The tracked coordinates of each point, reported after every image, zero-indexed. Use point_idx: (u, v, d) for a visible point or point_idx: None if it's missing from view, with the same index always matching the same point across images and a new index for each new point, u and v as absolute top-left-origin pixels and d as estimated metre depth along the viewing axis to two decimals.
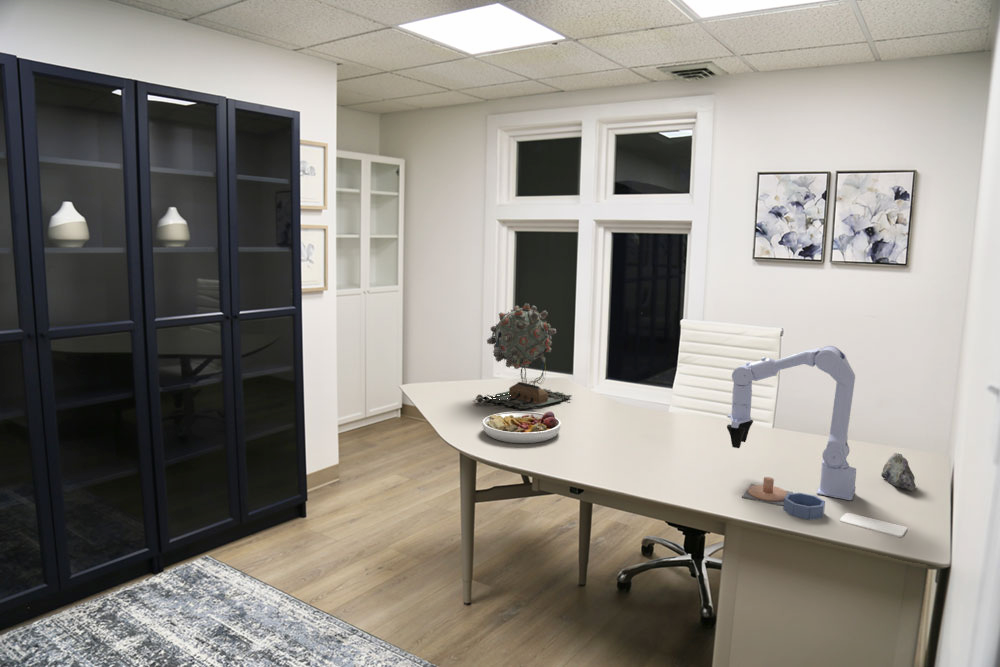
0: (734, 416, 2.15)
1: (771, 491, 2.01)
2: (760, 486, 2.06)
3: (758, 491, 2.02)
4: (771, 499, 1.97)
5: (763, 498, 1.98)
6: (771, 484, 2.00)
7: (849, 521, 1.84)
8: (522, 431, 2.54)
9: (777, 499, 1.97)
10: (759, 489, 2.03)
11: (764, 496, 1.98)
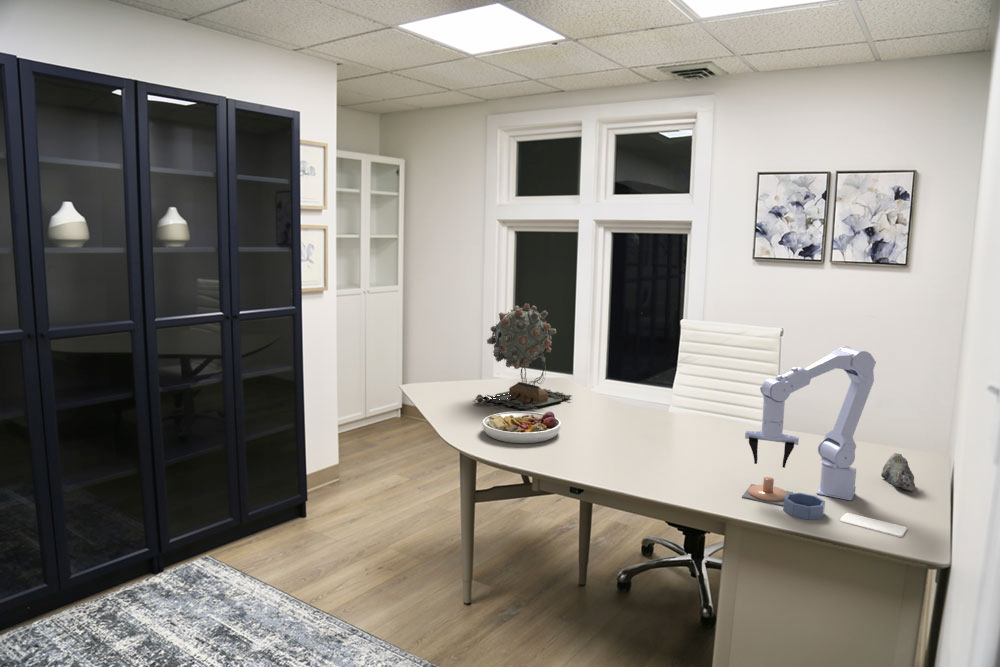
0: None
1: (771, 491, 2.01)
2: (760, 486, 2.06)
3: (758, 491, 2.02)
4: (771, 499, 1.97)
5: (763, 498, 1.98)
6: (771, 484, 2.00)
7: (849, 521, 1.84)
8: (522, 431, 2.54)
9: (777, 499, 1.97)
10: (759, 489, 2.03)
11: (764, 496, 1.98)
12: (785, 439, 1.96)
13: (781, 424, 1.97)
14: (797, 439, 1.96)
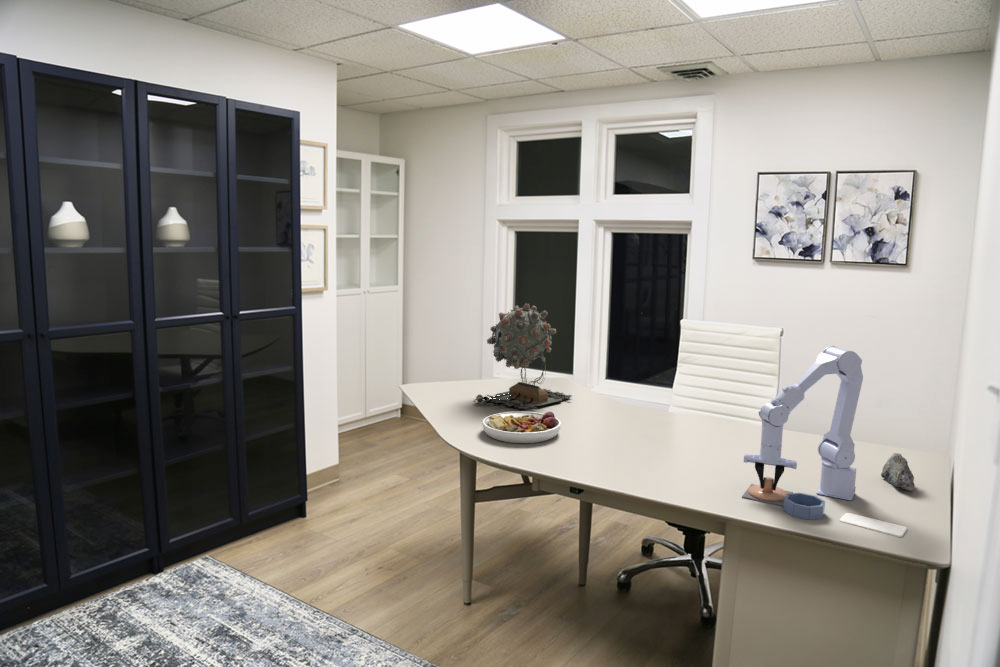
0: None
1: (771, 491, 2.01)
2: None
3: (758, 491, 2.02)
4: (771, 499, 1.97)
5: (763, 498, 1.97)
6: (771, 484, 2.00)
7: (849, 521, 1.84)
8: (522, 431, 2.54)
9: (777, 499, 1.97)
10: (759, 489, 2.03)
11: (764, 496, 1.98)
12: (783, 463, 1.97)
13: (779, 448, 1.98)
14: (795, 463, 1.97)
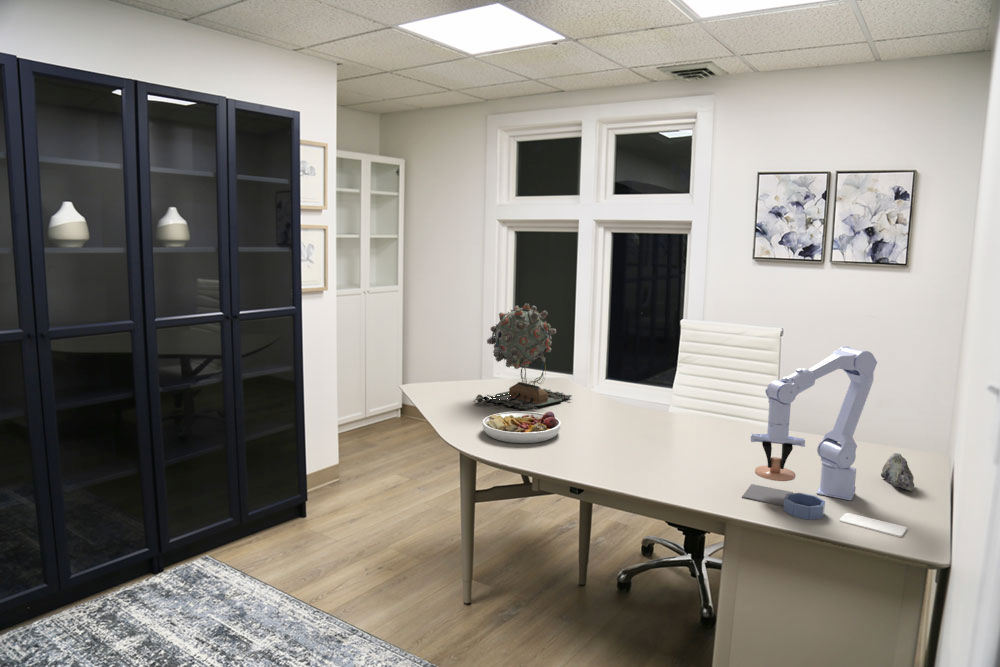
0: None
1: (779, 471, 1.98)
2: (766, 467, 2.03)
3: (765, 471, 1.99)
4: (781, 479, 1.94)
5: (772, 478, 1.94)
6: (779, 464, 1.97)
7: (849, 521, 1.84)
8: (522, 431, 2.54)
9: (786, 479, 1.94)
10: (765, 470, 2.00)
11: (773, 476, 1.95)
12: (792, 441, 1.95)
13: (787, 426, 1.95)
14: (803, 441, 1.95)
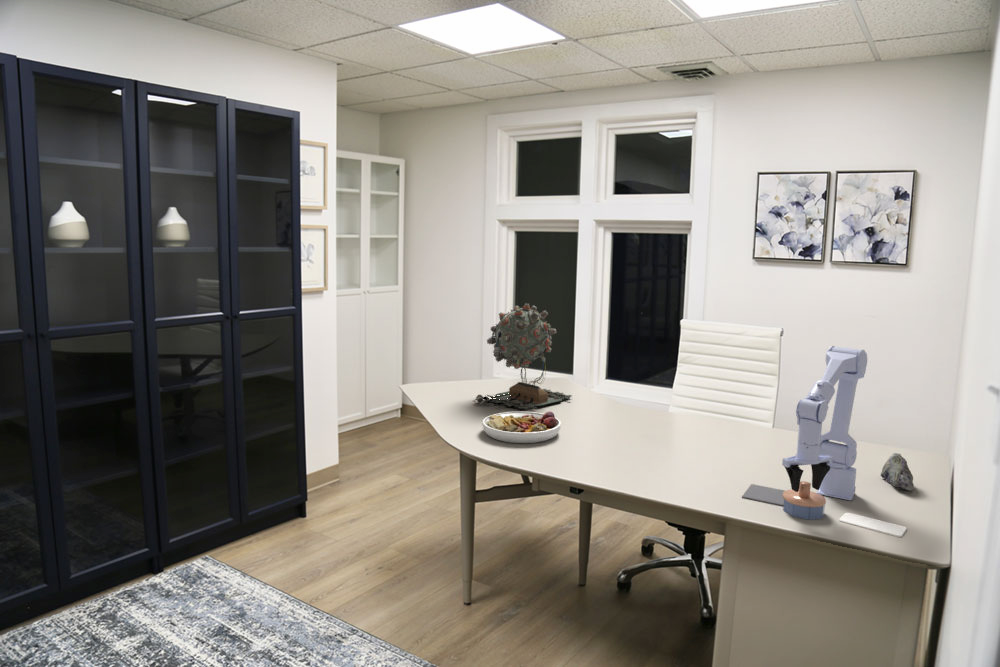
0: (796, 455, 1.89)
1: (809, 495, 1.89)
2: (789, 492, 1.93)
3: (797, 498, 1.89)
4: (820, 504, 1.85)
5: (813, 505, 1.85)
6: None
7: (849, 521, 1.84)
8: (522, 431, 2.54)
9: (824, 503, 1.86)
10: (794, 496, 1.90)
11: (812, 503, 1.86)
12: (824, 460, 1.87)
13: None
14: (831, 458, 1.89)
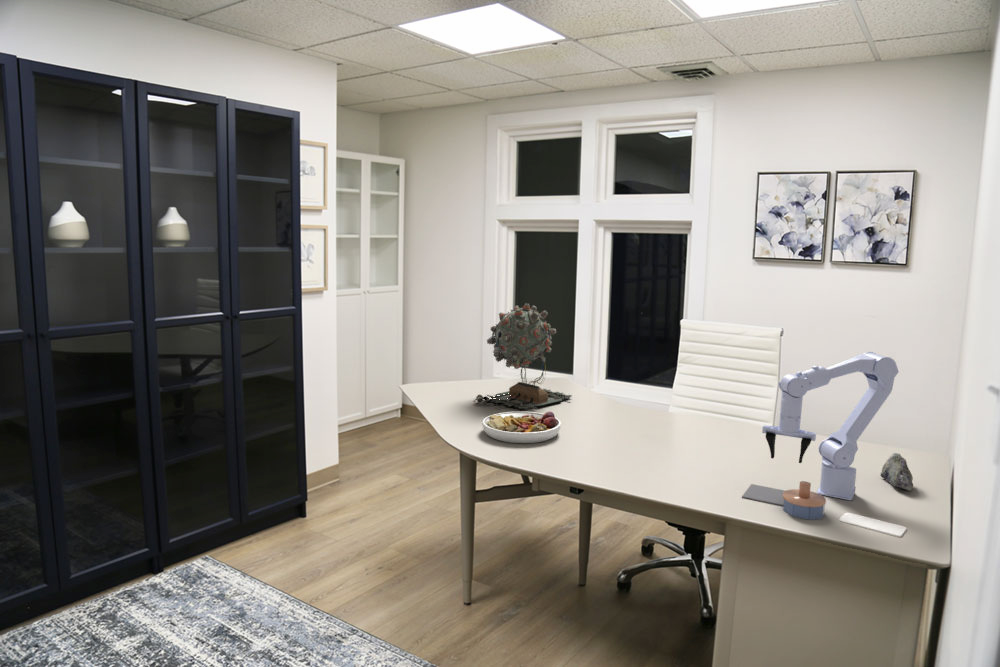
0: None
1: (809, 495, 1.89)
2: (789, 492, 1.93)
3: (797, 498, 1.89)
4: (820, 504, 1.85)
5: (813, 505, 1.85)
6: None
7: (849, 520, 1.84)
8: (522, 431, 2.54)
9: (824, 503, 1.86)
10: (794, 496, 1.90)
11: (812, 503, 1.86)
12: (802, 435, 1.98)
13: (798, 420, 1.98)
14: (814, 435, 1.97)
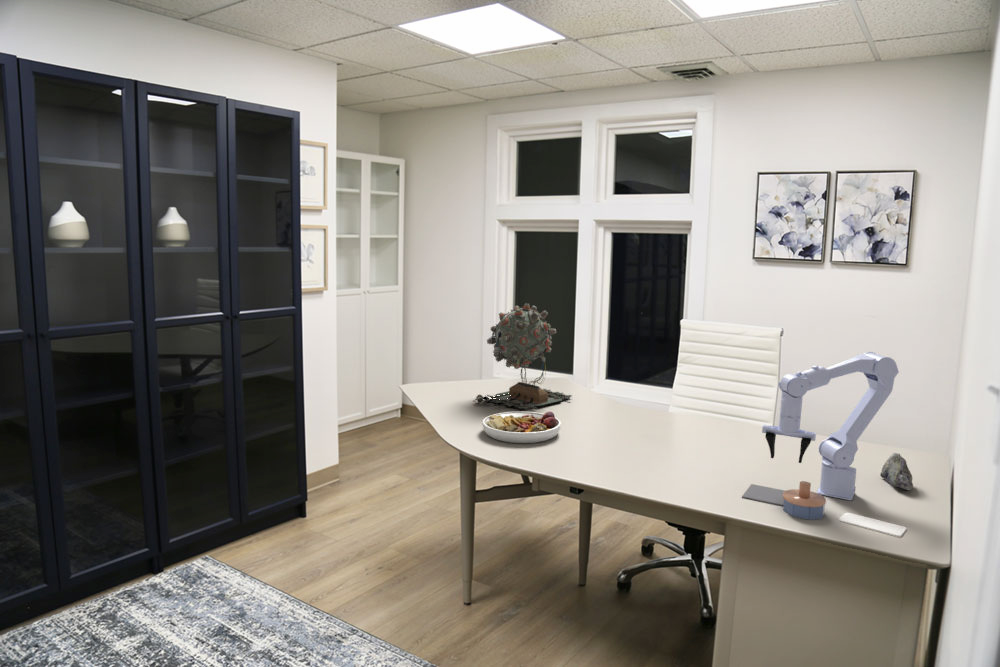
0: None
1: (809, 495, 1.89)
2: (789, 492, 1.93)
3: (797, 498, 1.89)
4: (820, 504, 1.85)
5: (813, 505, 1.85)
6: None
7: (848, 520, 1.84)
8: (522, 431, 2.54)
9: (824, 503, 1.86)
10: (794, 496, 1.90)
11: (812, 503, 1.86)
12: (802, 434, 1.98)
13: (798, 419, 1.98)
14: (814, 435, 1.97)
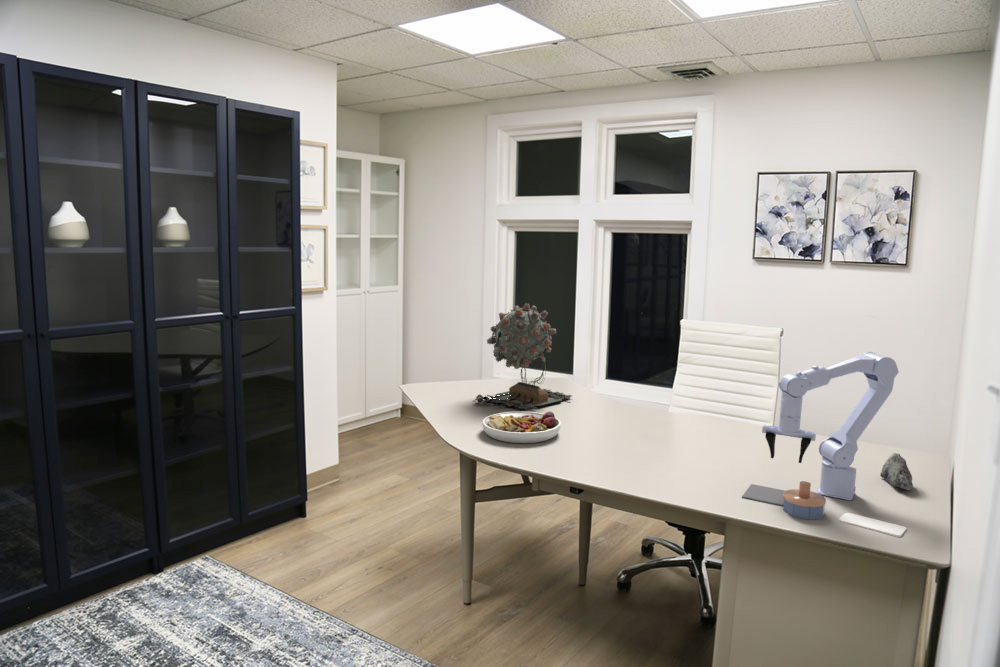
0: None
1: (809, 495, 1.89)
2: (789, 492, 1.93)
3: (797, 498, 1.89)
4: (820, 504, 1.85)
5: (813, 505, 1.85)
6: None
7: (848, 520, 1.84)
8: (522, 431, 2.54)
9: (824, 503, 1.86)
10: (794, 496, 1.90)
11: (812, 503, 1.86)
12: (802, 434, 1.98)
13: (798, 419, 1.98)
14: (814, 435, 1.97)
